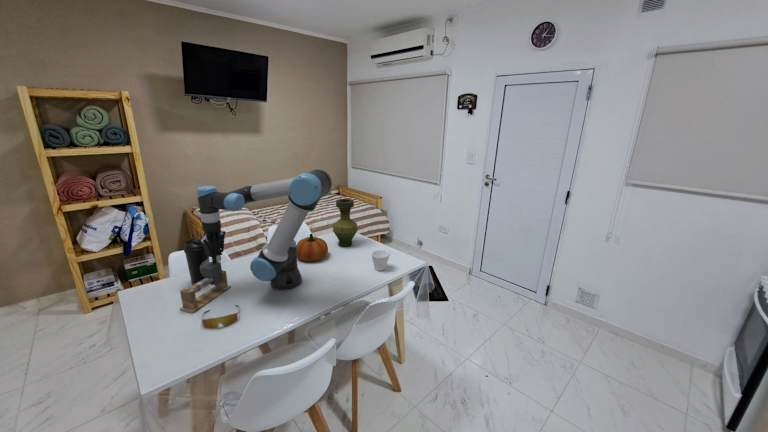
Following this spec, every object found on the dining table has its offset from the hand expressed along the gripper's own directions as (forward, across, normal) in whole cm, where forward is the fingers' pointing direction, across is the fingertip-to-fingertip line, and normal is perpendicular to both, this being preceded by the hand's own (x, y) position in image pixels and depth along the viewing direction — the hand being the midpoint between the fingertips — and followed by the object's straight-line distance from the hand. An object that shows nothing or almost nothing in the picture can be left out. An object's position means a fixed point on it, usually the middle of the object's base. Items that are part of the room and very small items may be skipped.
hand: (217, 268), depth 146 cm
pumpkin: (+11, -46, +24) cm, 53 cm away
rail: (+11, +8, 0) cm, 14 cm away
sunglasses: (+12, +18, +17) cm, 27 cm away
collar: (+6, +4, 0) cm, 7 cm away
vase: (+11, -70, +35) cm, 79 cm away
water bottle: (+11, -2, -13) cm, 17 cm away
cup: (+11, -45, +67) cm, 81 cm away
